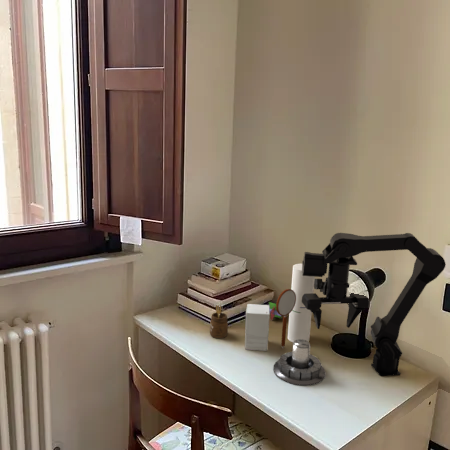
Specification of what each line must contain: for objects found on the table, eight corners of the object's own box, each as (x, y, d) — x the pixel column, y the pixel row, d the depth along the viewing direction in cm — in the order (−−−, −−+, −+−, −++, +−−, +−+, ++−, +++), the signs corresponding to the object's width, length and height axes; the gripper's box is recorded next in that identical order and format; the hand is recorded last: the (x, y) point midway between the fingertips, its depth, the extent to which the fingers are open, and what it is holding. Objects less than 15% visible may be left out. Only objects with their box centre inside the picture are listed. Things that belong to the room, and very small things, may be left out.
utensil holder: (228, 331, 173) (229, 298, 170) (226, 340, 167) (227, 305, 164) (210, 329, 174) (212, 296, 171) (208, 338, 168) (209, 304, 165)
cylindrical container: (310, 344, 167) (317, 271, 160) (288, 343, 167) (294, 270, 161) (307, 334, 174) (313, 264, 167) (286, 333, 174) (291, 263, 167)
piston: (305, 364, 153) (307, 338, 151) (310, 373, 148) (313, 346, 146) (288, 365, 152) (291, 339, 150) (293, 374, 147) (296, 347, 145)
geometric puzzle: (276, 320, 178) (284, 298, 181) (259, 315, 182) (266, 294, 184) (283, 325, 184) (290, 305, 186) (266, 320, 188) (273, 300, 190)
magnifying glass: (275, 353, 160) (279, 293, 155) (271, 351, 161) (275, 291, 156) (293, 345, 166) (298, 287, 161) (289, 343, 167) (294, 285, 162)
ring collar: (315, 357, 159) (316, 348, 158) (332, 384, 144) (333, 374, 144) (267, 359, 156) (268, 350, 155) (281, 387, 142) (281, 377, 141)
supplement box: (267, 340, 168) (270, 304, 165) (267, 351, 161) (269, 314, 158) (245, 338, 169) (247, 303, 166) (243, 349, 162) (245, 312, 158)
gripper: (357, 267, 156) (352, 315, 160) (298, 268, 153) (294, 317, 157) (373, 280, 145) (367, 331, 149) (310, 282, 142) (305, 333, 146)
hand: (333, 327), depth 151 cm, fingers open, 9 cm apart
